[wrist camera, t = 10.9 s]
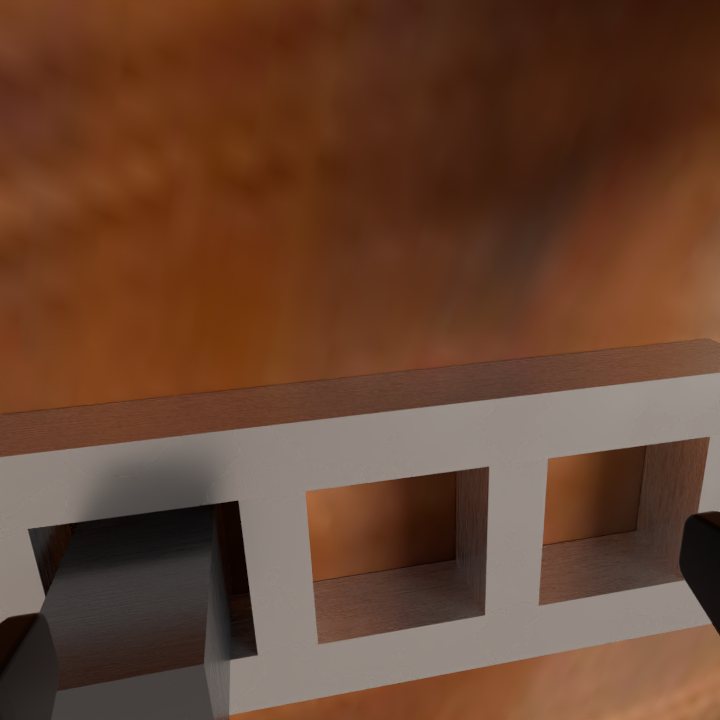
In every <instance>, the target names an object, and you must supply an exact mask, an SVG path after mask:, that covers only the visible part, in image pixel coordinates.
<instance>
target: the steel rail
mask: <svg viewBox="0 0 720 720" xmlns="http://www.w3.org/2000/svg"><path fill="white" fill-rule="evenodd" d="M644 445H647V446H646V455H645V463H644V471H643V479H642V487H641V495H640V503H639V512H638V520H637V528H636V531H632V532H625V533H619V534H613V535H607V536H600V537H594V538H588V539H582V540H575V541H569V542H563V543H556V544H550V545H544V546H542V543H543V527H544V512H545V496H546V481H547V465H548V458H555V457H563V456H570V455H577V454H585V453H592V452H599V451H607V450H614V449H622V448H629V447H636V446H644ZM452 471H456V560H450V561H443V562H437V563H431V564H425V565H418V566H412V567H406V568H399V569H393V570H387V571H381V572H374V573H368V574H362V575H356V576H349V577H343V578H337V579H330V580H324V581H318V582H313V579H312V567H311V555H310V543H309V531H308V519H307V507H306V496H305V491H312V490H319V489H326V488H334V487H341V486H349V485H356V484H363V483H371V482H378V481H385V480H393V479H400V478H408V477H415V476H422V475H430V474H437V473H444V472H452ZM230 501H239V509H240V517H241V525H242V533H243V541H244V549H245V557H246V565H247V573H248V581H249V589H250V592H249V593H243V594H236V595H231V641H230V701H229V715H232V714H237V713H242V712H248V711H253V710H258V709H263V708H269V707H274V706H279V705H285V704H290V703H295V702H300V701H306V700H311V699H316V698H322V697H327V696H332V695H337V694H343V693H348V692H353V691H358V690H364V689H369V688H374V687H380V686H385V685H390V684H395V683H401V682H406V681H411V680H416V679H422V678H427V677H432V676H438V675H443V674H448V673H453V672H459V671H464V670H469V669H475V668H480V667H485V666H490V665H496V664H501V663H506V662H511V661H517V660H522V659H527V658H533V657H538V656H543V655H548V654H554V653H559V652H564V651H569V650H575V649H580V648H585V647H591V646H596V645H601V644H606V643H612V642H617V641H622V640H628V639H633V638H638V637H643V636H649V635H654V634H659V633H664V632H670V631H675V630H680V629H686V628H691V627H696V626H701V625H707V624H712V622H711V621H710V619H709V618H708V616H707V614H706V613H705V611H704V610H703V608H702V607H701V605H700V603H699V602H698V600H697V599H696V597H695V595H694V594H693V592H692V591H691V589H690V588H689V586H688V584H687V583H686V581H685V580H684V578H683V576H682V573H681V571H680V567H679V555H680V549H681V542H682V536H683V529H684V523H685V520H686V519H687V517H688V516H690V515H691V514H695V513H702V512H708V511H718V512H720V343H718V342H716V341H713V340H711V339H703V340H694V341H684V342H675V343H666V344H656V345H647V346H638V347H628V348H619V349H610V350H600V351H591V352H582V353H572V354H563V355H554V356H545V357H535V358H526V359H517V360H507V361H498V362H489V363H479V364H470V365H461V366H451V367H442V368H433V369H423V370H414V371H405V372H395V373H386V374H377V375H367V376H358V377H349V378H339V379H330V380H321V381H311V382H302V383H293V384H283V385H274V386H265V387H256V388H246V389H237V390H228V391H218V392H209V393H200V394H190V395H181V396H172V397H162V398H153V399H144V400H134V401H125V402H116V403H106V404H97V405H88V406H78V407H69V408H60V409H50V410H41V411H32V412H22V413H13V414H4V415H0V623H1V622H2V621H3V620H5V619H6V618H8V617H11V616H16V615H23V614H29V613H36V612H40V609H41V607H42V605H43V602H44V600H45V598H46V595H47V593H48V591H49V588H50V586H51V584H52V582H53V579H54V577H55V575H56V572H57V570H58V568H59V565H60V563H61V561H62V558H63V556H64V554H65V551H66V549H67V547H68V544H69V542H70V540H71V537H72V532H71V527H70V523H75V522H83V521H90V520H98V519H105V518H112V517H120V516H127V515H134V514H142V513H149V512H157V511H164V510H171V509H179V508H186V507H194V506H201V505H208V504H216V503H223V502H230Z"/></svg>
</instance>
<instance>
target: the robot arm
mask: <svg viewBox="0 0 720 720" xmlns="http://www.w3.org/2000/svg"><path fill="white" fill-rule="evenodd" d="M679 567H680V571H681V573H682V576H683V578H684V580H685V581H686V583H687V584H688V586H689V588H690V589H691V591H692V592H693V594H694V595H695V597H696V599H697V600H698V602H699V603H700V605H701V607H702V608H703V610H704V611H705V613H706V614H707V616H708V618H709V619H710V621H711V622H712V624H713V626H714V627H715V629H716V630H717V632H718V633H719V635H720V512H718V511H708V512H702V513H695V514H691V515H690V516H688V517H687V519H686V520H685V523H684V529H683V536H682V542H681V549H680V555H679ZM59 673H60V672H59V660H58V656H57V653H56V649H55V646H54V642H53V639H52V635H51V632H50V628H49V625H48V622H47V619H46V617H45V616H44V615H43V614H41V613H39V612H36V613H29V614H23V615H16V616H11V617H8V618H6V619H5V620H3V621H2V622H1V623H0V720H51V718H52V713H53V708H54V703H55V698H56V693H57V687H58V682H59Z"/></svg>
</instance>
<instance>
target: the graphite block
mask: <svg viewBox="0 0 720 720" xmlns="http://www.w3.org/2000/svg"><path fill="white" fill-rule="evenodd" d="M231 580H232V576H231V569H230V562H229V556H228V549H227V543H226V536H225V529H224V523H223V516H222V510H221V503H216V504H208V505H201V506H194V507H186V508H179V509H171V510H164V511H157V512H149V513H142V514H134V515H127V516H120V517H112V518H105V519H98V520H90V521H83V522H78V524H77V526H76V528H75V531H74V533H73V535H72V537H71V540H70V542H69V544H68V547H67V549H66V551H65V554H64V556H63V558H62V561H61V563H60V565H59V568H58V570H57V572H56V575H55V577H54V579H53V582H52V584H51V586H50V588H49V591H48V593H47V595H46V598H45V600H44V602H43V605H42V607H41V609H40V612H39V613H41V614H43V615H44V616H45V617H46V619H47V622H48V625H49V628H50V632H51V635H52V639H53V642H54V646H55V649H56V653H57V656H58V660H59V672H60V673H59V682H58V687H57V693H56V698H55V703H54V708H53V713H52V718H51V720H229V701H230V641H231Z"/></svg>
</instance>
